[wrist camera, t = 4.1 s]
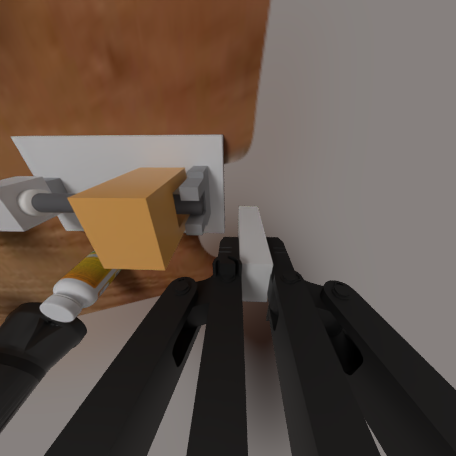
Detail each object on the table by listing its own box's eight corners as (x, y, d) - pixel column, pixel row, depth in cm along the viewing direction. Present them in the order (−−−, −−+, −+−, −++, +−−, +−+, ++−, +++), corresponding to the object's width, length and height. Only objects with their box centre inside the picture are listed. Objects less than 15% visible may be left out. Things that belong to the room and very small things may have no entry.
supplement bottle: (85, 248, 28) (21, 299, 20) (116, 248, 28) (65, 300, 19) (99, 271, 31) (48, 325, 22) (128, 271, 30) (87, 326, 22)
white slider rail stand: (224, 227, 25) (220, 264, 18) (74, 225, 26) (18, 259, 19) (223, 134, 19) (215, 138, 12) (25, 135, 20) (-83, 140, 13)
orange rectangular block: (191, 217, 21) (165, 270, 13) (152, 216, 21) (104, 268, 14) (185, 167, 18) (145, 198, 10) (139, 167, 18) (67, 197, 10)
